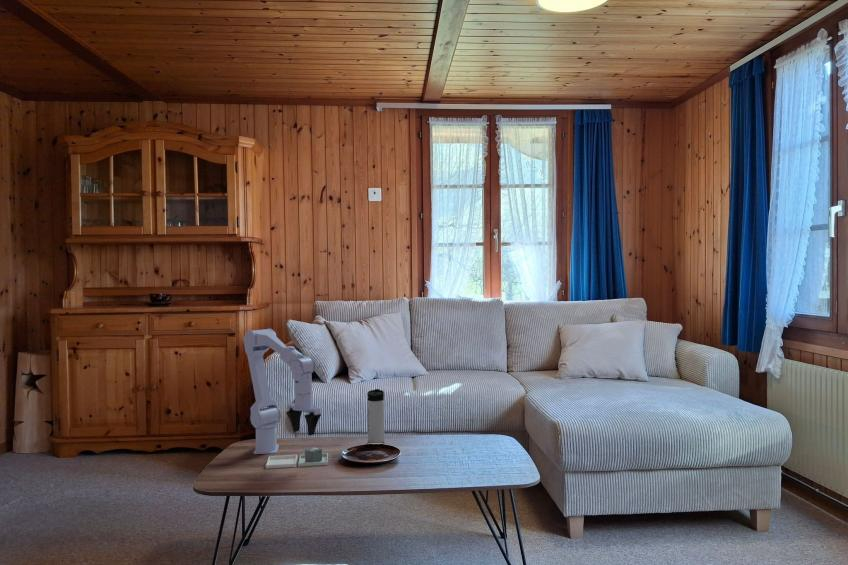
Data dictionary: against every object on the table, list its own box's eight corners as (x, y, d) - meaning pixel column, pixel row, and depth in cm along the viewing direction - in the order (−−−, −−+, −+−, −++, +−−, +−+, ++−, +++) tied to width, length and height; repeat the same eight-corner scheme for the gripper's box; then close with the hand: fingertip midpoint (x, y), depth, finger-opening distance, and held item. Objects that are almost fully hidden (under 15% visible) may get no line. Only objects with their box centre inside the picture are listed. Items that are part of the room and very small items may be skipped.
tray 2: (300, 457, 195) (300, 454, 195) (328, 456, 196) (328, 452, 196) (298, 467, 185) (298, 463, 185) (327, 465, 187) (327, 461, 187)
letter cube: (305, 461, 190) (305, 449, 190) (313, 458, 194) (313, 446, 194) (313, 463, 188) (313, 451, 188) (322, 460, 191) (321, 448, 191)
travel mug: (385, 441, 214) (385, 388, 214) (382, 446, 207) (382, 392, 207) (369, 440, 215) (369, 388, 214) (366, 445, 208) (365, 392, 208)
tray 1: (269, 459, 193) (269, 456, 193) (297, 458, 195) (297, 454, 195) (265, 469, 184) (265, 465, 184) (295, 467, 185) (295, 463, 185)
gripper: (280, 392, 191) (280, 432, 191) (308, 397, 182) (309, 439, 182) (296, 389, 197) (296, 427, 197) (324, 393, 188) (325, 434, 188)
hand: (303, 432), depth 190 cm, fingers open, 7 cm apart
